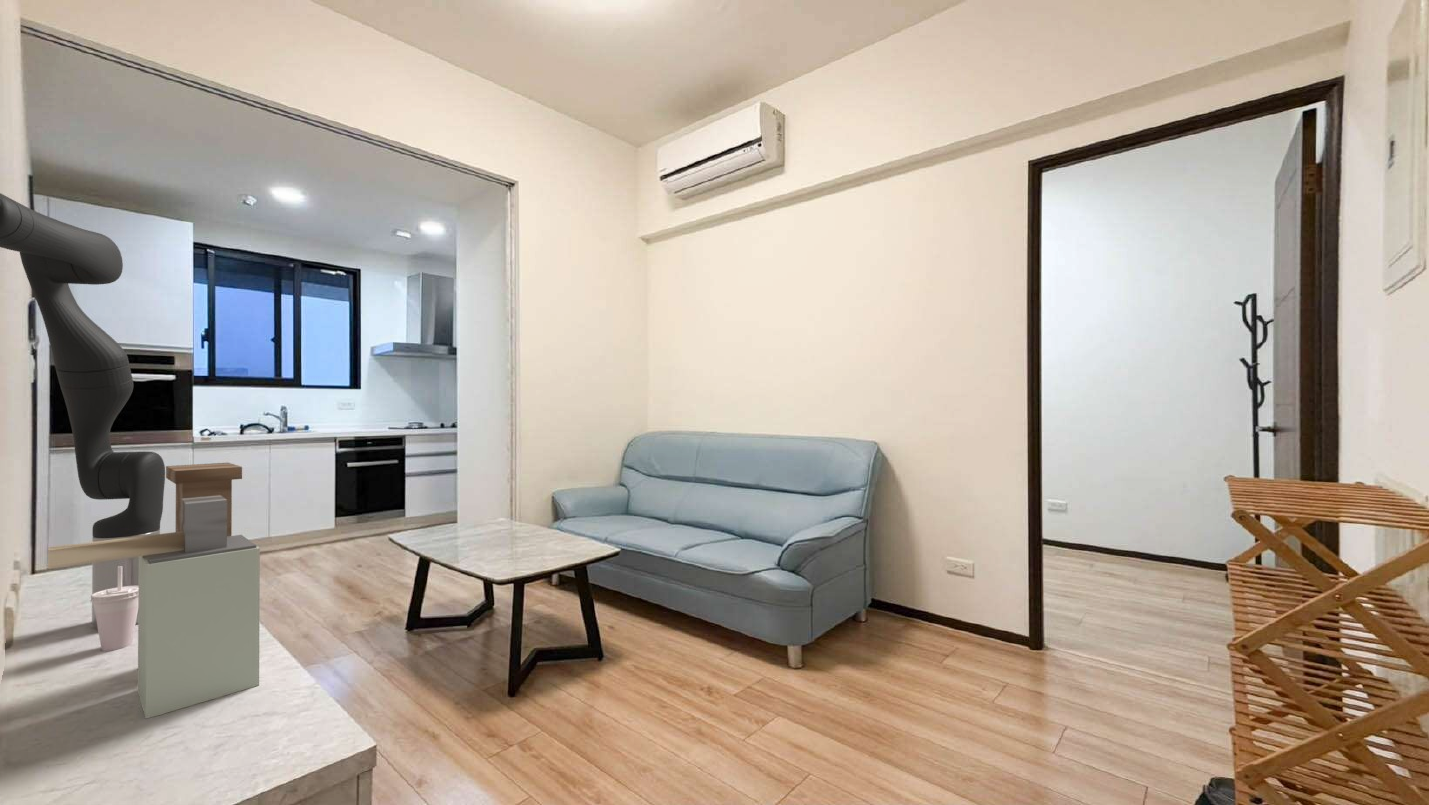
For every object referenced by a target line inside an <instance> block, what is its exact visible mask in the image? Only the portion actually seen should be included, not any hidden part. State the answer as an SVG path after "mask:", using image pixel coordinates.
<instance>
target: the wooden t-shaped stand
mask: <svg viewBox="0 0 1429 805" xmlns="http://www.w3.org/2000/svg"><path fill="white" fill-rule="evenodd" d="M165 479H166V480H169V481H170V482H172V483H173V484H174V485H175V532H181V499H184V498H196V497H207V496H218V495H221V496H222V497H224V498H225V499H226V500H227V537H228V536H232V533H233V532H232V531H233V530H232V526H233V525H232V523H233V522H232V520H233V519H232V512H233V510H232V507H233V506H232V505H233V504H232V502H233V501H232V500H233V499H232V498H233V496H232V495H233V493H232V492H233V491H232V490H233V482H232V481H233V480H242V479H243V467H242V465H238V464H235V463H230V462H216V463H215V462H213V463H200V464H199V463H198V464H184V465H183V464H181V465H179V464H178V465H166V466H165Z"/></svg>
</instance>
